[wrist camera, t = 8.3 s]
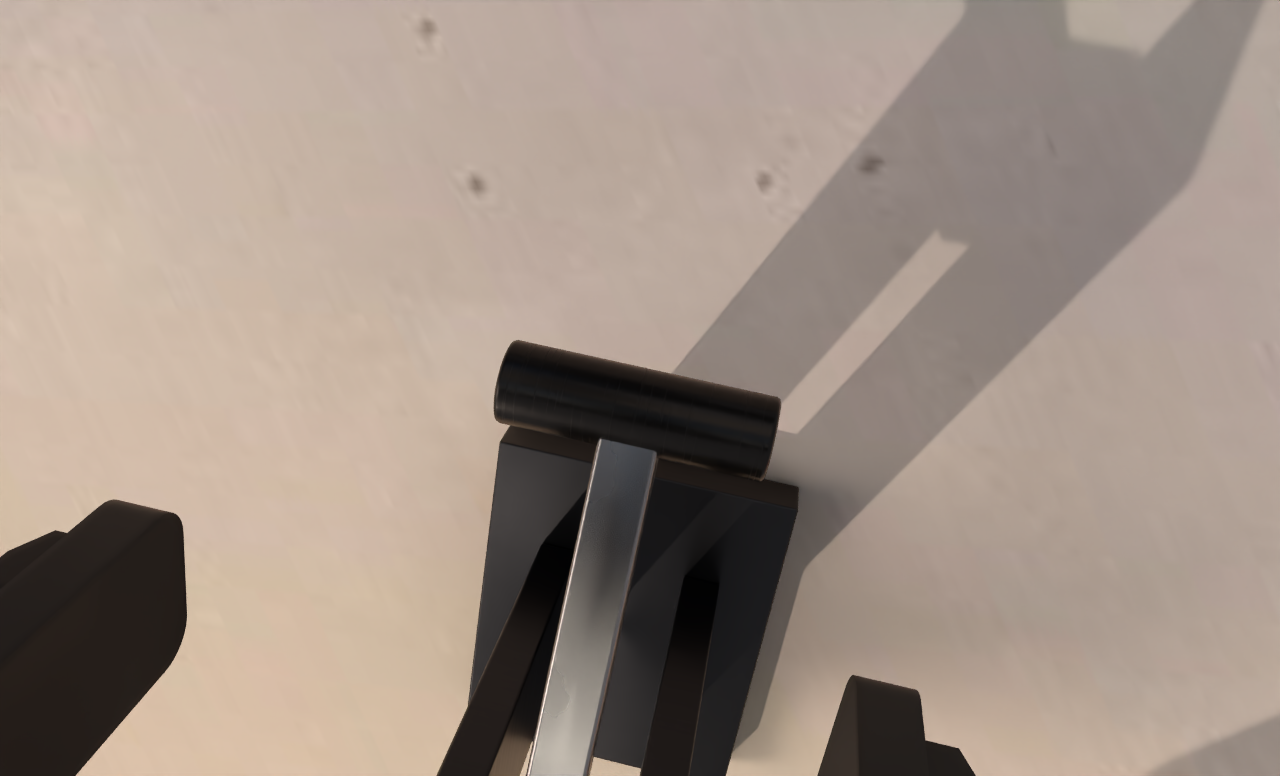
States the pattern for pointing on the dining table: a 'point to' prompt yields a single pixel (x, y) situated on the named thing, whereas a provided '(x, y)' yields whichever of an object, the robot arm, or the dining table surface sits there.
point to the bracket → (654, 618)
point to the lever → (616, 504)
